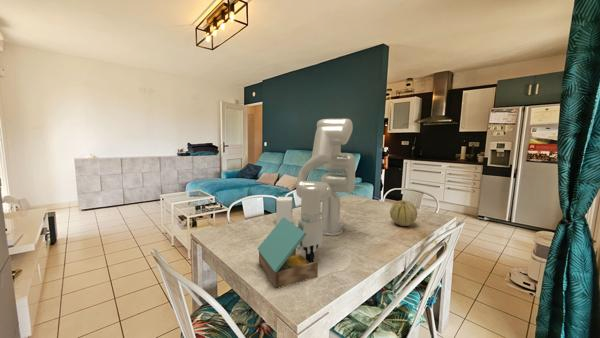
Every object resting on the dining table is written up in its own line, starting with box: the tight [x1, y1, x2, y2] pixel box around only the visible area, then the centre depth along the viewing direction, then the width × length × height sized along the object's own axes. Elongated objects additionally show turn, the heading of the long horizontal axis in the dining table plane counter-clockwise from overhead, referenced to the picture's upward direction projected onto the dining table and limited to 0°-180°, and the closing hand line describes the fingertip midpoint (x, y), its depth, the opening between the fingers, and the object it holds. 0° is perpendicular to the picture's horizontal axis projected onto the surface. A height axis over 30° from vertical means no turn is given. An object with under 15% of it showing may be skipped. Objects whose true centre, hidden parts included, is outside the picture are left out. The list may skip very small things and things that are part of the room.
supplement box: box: [275, 196, 293, 225], centre depth 143 cm, size 9×9×15 cm
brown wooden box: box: [258, 247, 319, 289], centre depth 93 cm, size 16×19×6 cm
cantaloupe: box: [389, 199, 418, 227], centre depth 142 cm, size 15×15×15 cm
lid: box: [257, 217, 307, 273], centre depth 90 cm, size 16×19×1 cm
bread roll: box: [282, 254, 308, 270], centre depth 96 cm, size 8×9×4 cm
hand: (309, 261), depth 97 cm, fingers closed
